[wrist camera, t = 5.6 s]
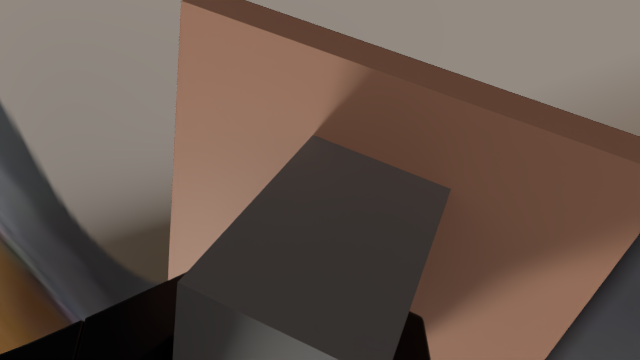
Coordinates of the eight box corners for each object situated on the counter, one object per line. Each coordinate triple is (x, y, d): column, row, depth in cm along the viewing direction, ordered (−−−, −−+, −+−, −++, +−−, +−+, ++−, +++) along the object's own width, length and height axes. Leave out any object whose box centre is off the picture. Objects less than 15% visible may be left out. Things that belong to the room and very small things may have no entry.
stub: (188, 285, 14) (42, 451, 10) (213, -11, 10) (-38, 80, 6) (474, 422, 13) (432, 683, 9) (669, 146, 8) (775, 431, 4)
